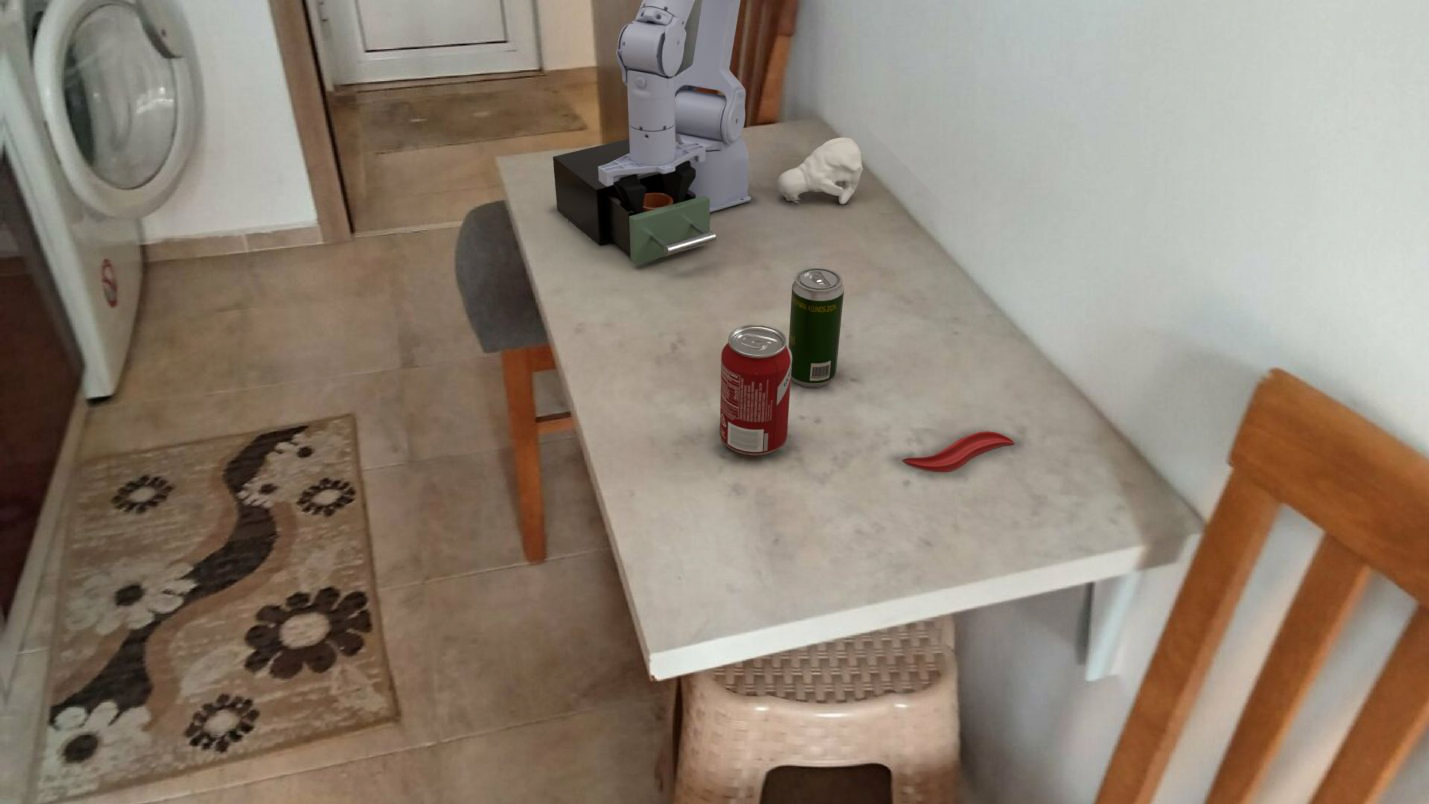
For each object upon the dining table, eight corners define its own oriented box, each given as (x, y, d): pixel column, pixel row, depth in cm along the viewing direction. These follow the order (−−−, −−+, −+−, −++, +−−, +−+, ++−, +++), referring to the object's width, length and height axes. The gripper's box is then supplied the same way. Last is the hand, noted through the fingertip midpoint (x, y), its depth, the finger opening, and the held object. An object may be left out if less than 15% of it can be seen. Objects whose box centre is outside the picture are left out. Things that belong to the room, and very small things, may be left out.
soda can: (765, 469, 104) (770, 367, 97) (707, 445, 107) (707, 345, 100) (798, 433, 109) (805, 333, 102) (741, 412, 112) (744, 313, 105)
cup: (661, 221, 143) (660, 189, 140) (680, 235, 140) (680, 203, 137) (629, 230, 141) (628, 197, 138) (648, 244, 138) (647, 212, 135)
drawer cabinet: (679, 223, 147) (679, 168, 142) (599, 245, 141) (596, 189, 137) (634, 190, 155) (632, 137, 151) (556, 210, 150) (552, 156, 145)
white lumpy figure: (867, 145, 147) (782, 160, 146) (866, 201, 152) (785, 216, 151) (852, 128, 152) (770, 142, 151) (852, 183, 157) (773, 197, 156)
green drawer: (729, 257, 137) (730, 212, 134) (654, 280, 132) (653, 234, 129) (664, 210, 148) (663, 167, 144) (592, 230, 143) (589, 186, 139)
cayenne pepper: (909, 475, 104) (911, 459, 103) (895, 445, 108) (897, 430, 107) (1026, 463, 106) (1030, 448, 105) (1009, 435, 109) (1012, 420, 108)
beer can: (845, 381, 117) (854, 285, 110) (802, 393, 115) (809, 296, 108) (819, 356, 121) (827, 262, 114) (777, 368, 119) (783, 272, 112)
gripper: (616, 145, 126) (620, 249, 134) (719, 121, 132) (717, 221, 140) (587, 126, 130) (593, 227, 138) (688, 103, 137) (688, 201, 145)
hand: (654, 223), depth 140 cm, fingers closed on cup, 5 cm apart
